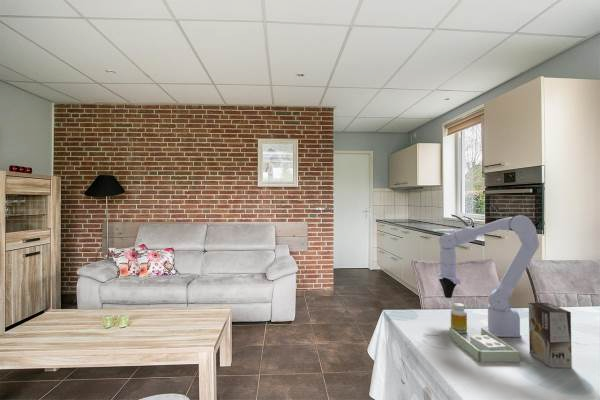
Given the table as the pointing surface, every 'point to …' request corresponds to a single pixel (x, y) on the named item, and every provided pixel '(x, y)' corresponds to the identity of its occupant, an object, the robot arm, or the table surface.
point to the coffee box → (550, 334)
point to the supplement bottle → (459, 318)
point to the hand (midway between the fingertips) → (448, 297)
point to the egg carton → (486, 343)
